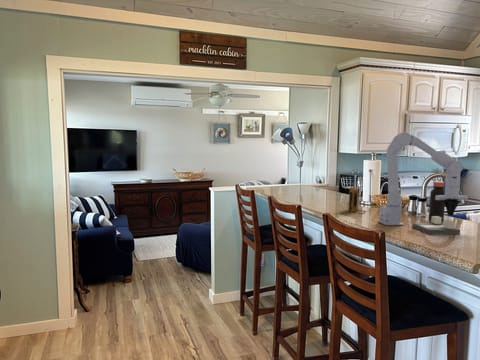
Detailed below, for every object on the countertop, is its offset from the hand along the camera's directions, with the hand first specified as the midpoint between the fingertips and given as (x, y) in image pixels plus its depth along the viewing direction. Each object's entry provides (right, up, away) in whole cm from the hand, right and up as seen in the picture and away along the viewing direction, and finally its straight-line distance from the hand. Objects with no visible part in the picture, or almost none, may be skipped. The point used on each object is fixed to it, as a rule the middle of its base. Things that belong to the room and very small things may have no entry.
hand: (450, 215), depth 170 cm
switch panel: (-9, -7, -5) cm, 12 cm away
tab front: (-6, -5, -9) cm, 12 cm away
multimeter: (-30, -2, +39) cm, 49 cm away
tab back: (-7, -4, 0) cm, 8 cm away
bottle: (+2, -5, +16) cm, 17 cm away
